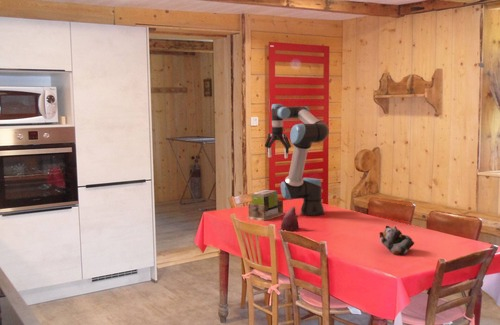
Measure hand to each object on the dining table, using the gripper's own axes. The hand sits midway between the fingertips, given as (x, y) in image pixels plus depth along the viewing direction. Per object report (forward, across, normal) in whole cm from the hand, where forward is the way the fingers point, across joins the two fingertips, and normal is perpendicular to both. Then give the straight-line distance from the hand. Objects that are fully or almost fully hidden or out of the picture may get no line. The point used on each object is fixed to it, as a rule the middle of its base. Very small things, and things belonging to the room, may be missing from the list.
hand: (277, 157), depth 375 cm
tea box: (+33, +10, -29) cm, 45 cm away
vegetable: (+35, +41, -49) cm, 73 cm away
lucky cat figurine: (+35, +110, -60) cm, 130 cm away
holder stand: (+35, +10, -29) cm, 46 cm away
